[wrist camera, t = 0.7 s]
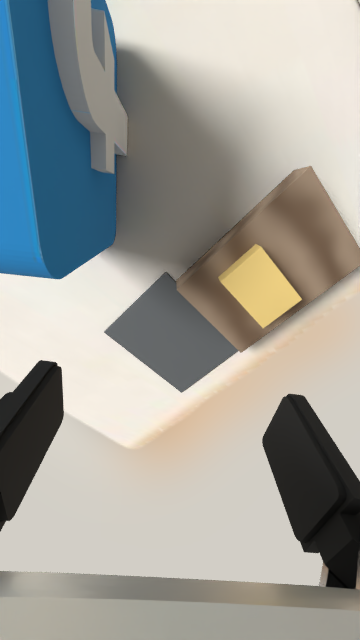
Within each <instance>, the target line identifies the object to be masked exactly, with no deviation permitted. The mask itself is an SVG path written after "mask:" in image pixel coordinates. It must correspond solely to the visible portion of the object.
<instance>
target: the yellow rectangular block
mask: <svg viewBox="0 0 360 640" xmlns="http://www.w3.org/2000/svg"><path fill="white" fill-rule="evenodd" d="M218 278H219V280H220V282H221V283H222V284H223V285H224V286H225V287H226V289H227V290H228V291H229V292H230V293H231V294H232V295H233V296H234V297H235V298H236V299H237V301H238V302H239V303H240V304H241V305H242V306H243V307H244V308H245V309H246V310H247V311H248V313H249V314H250V315H251V316H252V317H253V318H254V319H255V320H256V321H257V322H258V324H259V325H260V326H261V327H262V328H264V327H266V326H267V325H269V324H270V323H271V322H273V321H274V320H275V319H277V318H278V317H279V316H281V315H282V314H283V313H285V312H286V311H287V310H289V309H290V308H291V307H293V306H294V305H295V304H297V303H298V302H299V301H301V300H302V299H301V297H300V296H299V295H298V293H297V292H296V291H295V290H294V288H293V287H292V286H291V284H290V283H289V282H288V281H287V279H286V278H285V277H284V275H283V274H282V273H281V272H280V270H279V269H278V268H277V266H276V265H275V264H274V263H273V261H272V260H271V259H270V257H269V256H268V255H267V254H266V252H265V251H264V250H263V248H262V247H261V246H259V245H257V244H255V245H254V246H253V247H252V248H251V249H250V250H248V251H247V252H246V253H245V254H244V255H243V256H242V257H240V258H239V259H238V260H237V261H236V262H235V263H234V264H232V265H231V266H230V267H229V268H228V269H227V270H226V271H225V272H223V273H222V274H221V275H220V276H219V277H218Z"/></svg>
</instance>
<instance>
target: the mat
mask: <svg viewBox="0 0 360 640" xmlns="http://www.w3.org/2000/svg"><path fill="white" fill-rule="evenodd" d="M104 333H106V334H107V335H108V336H110V337H111V338H112V339H113V340H115V341H116V342H117V343H119V344H120V345H121V346H122V347H124V348H125V349H126V350H127V351H129V352H130V353H131V354H133V355H134V356H135V357H136V358H138V359H139V360H140V361H142V362H143V363H144V364H145V365H147V366H148V367H149V368H151V369H152V370H153V371H154V372H156V373H157V374H158V375H160V376H161V377H162V378H163V379H165V380H166V381H167V382H169V383H170V384H171V385H172V386H174V387H175V388H176V389H178V390H179V391H180V392H181V393H182V392H183V391H184V390H186V389H187V388H188V387H190V386H191V385H192V384H194V383H195V382H196V381H198V380H199V379H201V378H202V377H203V376H205V375H206V374H207V373H209V372H210V371H211V370H213V369H214V368H215V367H217V366H218V365H219V364H221V363H222V362H224V361H225V360H226V359H228V358H229V357H230V356H232V355H233V354H234V353H236V352H237V351H238V349H236V348H235V347H234V346H233V345H232V344H231V343H230V342H229V341H228V340H227V339H226V338H225V337H224V336H223V335H222V334H221V333H220V332H219V331H218V330H217V329H216V328H215V327H214V326H213V325H212V324H211V323H210V322H209V321H208V320H207V319H206V318H205V317H204V316H203V315H202V314H201V313H200V312H199V311H198V310H197V309H196V308H195V307H194V306H193V305H192V304H191V303H190V302H189V301H188V300H186V299H185V298H184V297H183V296H182V295H181V294H180V293H179V292H178V291H177V286H176V282H175V281H174V280H173V279H172V278H171V277H170V276H169V275H168V274H167V273H166V272H165V273H164V274H163V275H162V276H161V277H160V278H159V279H158V280H157V281H156V282H155V283H154V284H153V285H152V286H151V287H150V288H149V289H148V290H147V291H146V292H145V293H144V294H143V295H142V296H140V297H139V298H138V299H137V300H136V301H135V302H134V303H133V304H132V305H131V306H130V307H129V308H128V309H127V310H126V311H125V312H124V313H123V314H122V315H121V316H120V317H119V318H118V319H117V320H116V321H115V322H114V323H113V324H112V325H111V326H110V327H109V328H108V329H107V330H106V331H105V332H104Z"/></svg>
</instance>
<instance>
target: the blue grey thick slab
mask: <svg viewBox="0 0 360 640" xmlns="http://www.w3.org/2000/svg"><path fill="white" fill-rule="evenodd" d="M127 137H128V115H127V113H126V111H125V110H124V108H123V106H122V104H121V102H120V100H119V98H118V96H117V56H116V43H115V34H114V28H113V23H112V19H111V16H110V13H109V10H108V7H107V4H106V1H105V0H0V273H4V274H14V275H23V276H33V277H42V278H51V279H62V278H63V277H65V276H66V275H68V274H69V273H71V272H72V271H74V270H75V269H77V268H78V267H80V266H81V265H83V264H84V263H86V262H87V261H89V260H90V259H92V258H93V257H95V256H96V255H98V254H99V253H101V252H102V251H103V250H105V249H106V248H108V247H109V246H111V245H112V244H113V242H114V239H115V234H116V156H117V155H123V156H127Z"/></svg>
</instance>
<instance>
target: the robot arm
mask: <svg viewBox="0 0 360 640" xmlns="http://www.w3.org/2000/svg"><path fill="white" fill-rule="evenodd" d="M358 2H359V3H360V0H358ZM63 415H64V411H63V389H62V369H61V367H59V366H57V363H56V362H50V361H42V360H41V361H39V362H38V363H37V364H36V365H35V366H34V368H33V369H32V370H31V371H30V372H29V374H28V375H27V376H26V377H25V378H24V379H23V381H22V382H21V383H20V384H19V385H18V387H17V388H16V389H15V390H14V391H13V392H9V393H7V394H5V395H4V396H3V397H2V398H1V399H0V531H1V529H2V527H3V525H4V524H5V522H6V521H10V520H11V519H12V518H13V517H14V515H15V513H16V511H17V509H18V507H19V505H20V503H21V502H22V500H23V497H24V496H25V494H26V491H27V490H28V487H29V486H30V484H31V482H32V480H33V478H34V476H35V474H36V472H37V470H38V468H39V466H40V464H41V462H42V460H43V458H44V456H45V454H46V452H47V450H48V448H49V446H50V445H51V443H52V441H53V439H54V437H55V435H56V433H57V431H58V429H59V427H60V425H61V423H62V420H63ZM262 443H263V447H264V450H265V453H266V455H267V458H268V461H269V464H270V467H271V470H272V472H273V475H274V478H275V481H276V484H277V487H278V490H279V492H280V495H281V498H282V501H283V504H284V507H285V509H286V512H287V515H288V518H289V521H290V524H291V526H292V529H293V532H294V535H295V537H296V538H297V540H298V541H300V542H301V545H302V548H303V550H304V552H310V553H319V552H320V555H321V557H322V560H323V566H322V572H321V577H320V583H319V586H307V585H289V584H271V583H254V582H237V581H216V580H198V579H179V578H159V577H140V576H117V575H96V574H75V573H49V572H9V571H0V640H360V481H359V480H358V478H357V477H356V475H355V473H354V472H353V470H352V469H351V468H350V466H349V464H348V463H347V461H346V460H345V458H344V457H343V455H342V453H341V452H340V451H339V449H338V447H337V446H336V444H335V443H334V441H333V440H332V438H331V437H330V435H329V434H328V432H327V430H326V429H325V427H324V426H323V424H322V423H321V421H320V420H319V418H318V417H317V415H316V413H315V412H314V410H313V409H312V408H311V406H310V404H309V403H308V401H307V400H306V398H305V397H304V396H302V395H295V394H288V395H287V396H286V397H283V399H282V401H281V403H280V405H279V407H278V409H277V411H276V413H275V415H274V416H273V418H272V421H271V422H270V424H269V426H268V428H267V430H266V432H265V434H264V436H263V442H262Z"/></svg>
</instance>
